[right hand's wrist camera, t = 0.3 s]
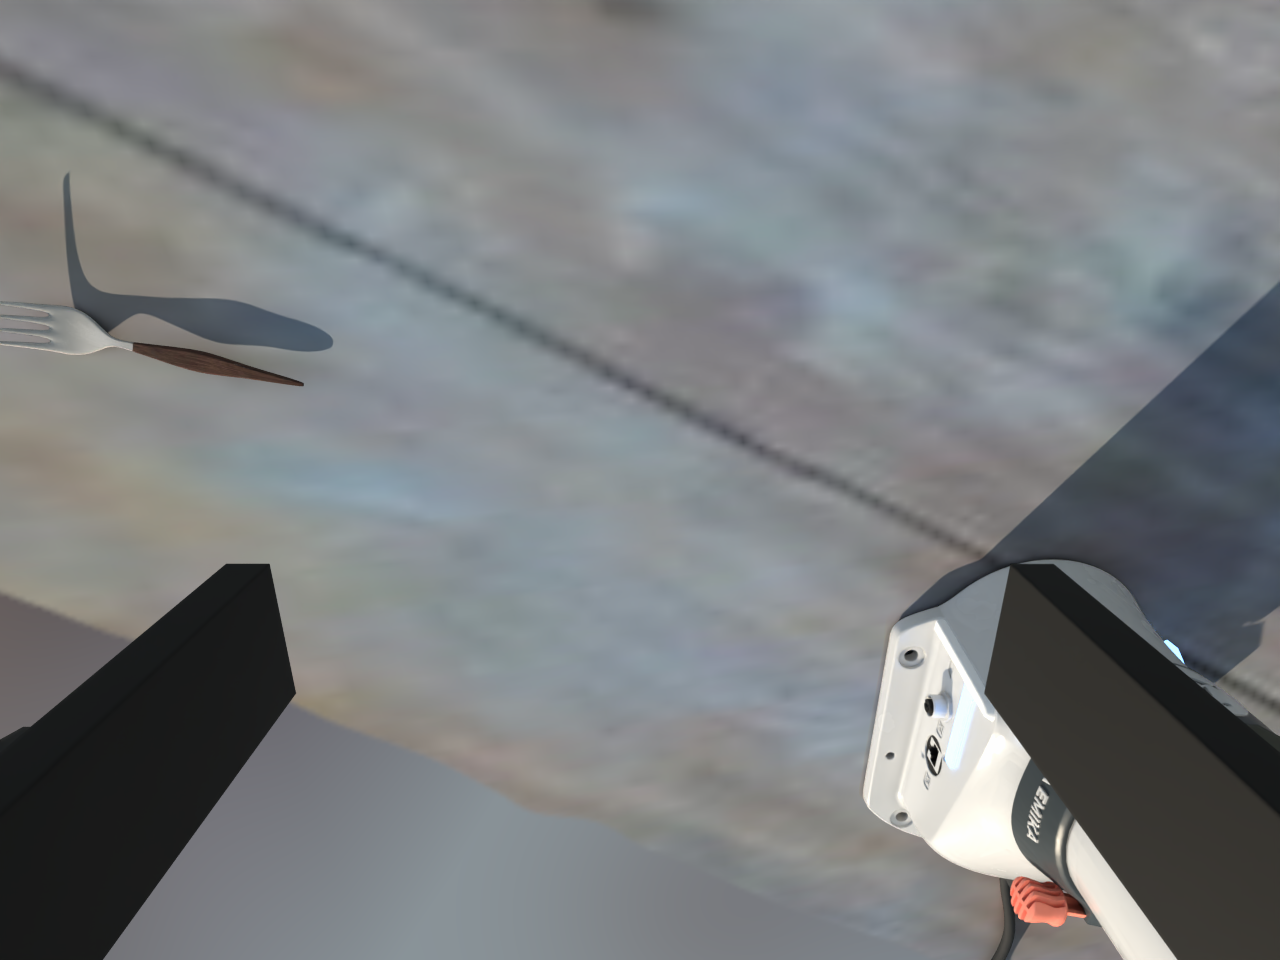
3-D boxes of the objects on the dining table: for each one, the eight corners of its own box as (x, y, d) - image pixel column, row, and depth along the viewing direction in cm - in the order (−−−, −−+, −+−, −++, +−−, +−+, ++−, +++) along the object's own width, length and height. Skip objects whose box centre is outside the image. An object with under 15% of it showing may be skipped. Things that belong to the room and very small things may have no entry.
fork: (305, 405, 40) (289, 414, 38) (11, 340, 39) (-21, 346, 37) (309, 360, 39) (292, 367, 37) (8, 292, 38) (-26, 295, 36)
